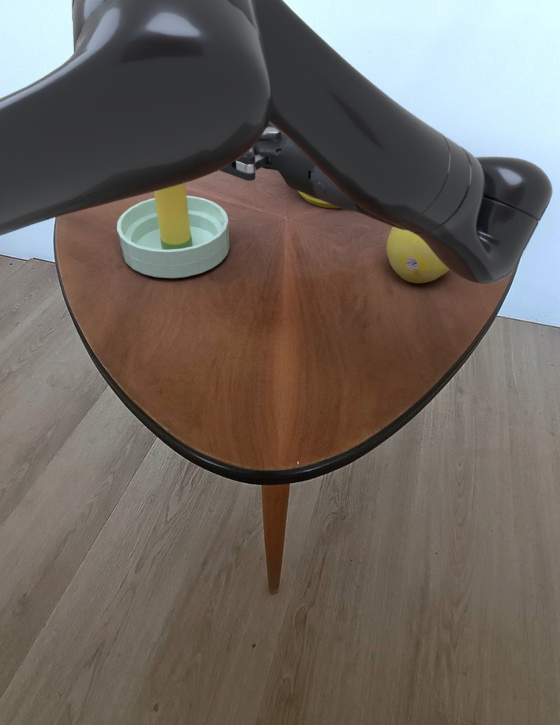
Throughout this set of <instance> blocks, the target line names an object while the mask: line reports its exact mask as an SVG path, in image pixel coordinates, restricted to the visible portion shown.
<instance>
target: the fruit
mask: <svg viewBox="0 0 560 725" xmlns="http://www.w3.org/2000/svg"><path fill="white" fill-rule="evenodd" d="M386 255H387V258H388V261H389V264H390V266H391V269H393V271H394V272H395V273H396V274H397V275H398V276H399V277H400V278H401V279H402V280H404V281H407V282H409V283H412V284H425V283H430V282H432V281H435V280H437V279H439V278H441V277H442V276H444V275H445V274H446V273H448V272H450V271H451V270H450V269H449V268H448V267H447V266H445V265H444V264H443V263H442V262H441V261H440V260H439V258H438V257H437V256H436V255H435V254H434V253H433V251H432V250H431V249H430V248H429V246H428V245H427V244H426V243H425V242H424V241H423V240H422V239H421V238H420V237H419V236H418V235H416V234H414V233H412V232H410V231H408V230H402V229H398V228H396V227H393V226H391V229H390V231H389V234H388V237H387V241H386Z"/></svg>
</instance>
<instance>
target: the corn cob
mask: <svg viewBox="0 0 560 725" xmlns="http://www.w3.org/2000/svg"><path fill="white" fill-rule="evenodd" d="M187 196H188V195H187V186H186V183H183V184H180V185H177V186H173V187H170V188H166V189H162V190H158V191H155V192H153V198H155V204H156V210H157V216H158V223H159V229H160V236H161V237H160V240H161V246H162V249H163V250H171V249H183V248H187V247H191V246H193V243H192V235H191V231H190V222H189V213H188V204H187Z"/></svg>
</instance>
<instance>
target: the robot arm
mask: <svg viewBox="0 0 560 725" xmlns="http://www.w3.org/2000/svg"><path fill="white" fill-rule="evenodd" d="M71 20H72V39H73V41H72V42H73V43H72V44H73V53H72V55H71V56H70V57H69V58H68V59H67V60H66V61H65V62H63V63H62V64H61V65H60V66H58V67H56V68H55V69H54V70H52V71H50V72H49V73H47V74H46V75H44V76H43V77H41V78H39V79H37V80H36V81H33V82H32V83H30V84H28V85H27V86H24V87H23V88H20V89H18V90H15V91H14V92H11V93H9V94H7V95H5V96H3V97H0V237H1V236H4V235H7V234H9V233H12V232H17V231H18V230H21V229H25V228H27V227H30V226H32V225H33V226H34V225H35V224H39V223H42V222H44V221H45V222H46V221H49V220H51V219H55V218H59V217H62V216H66V215H69V214H73V213H77V212H80V211H84V210H88V209H92V208H96V207H99V206H103V205H107V204H112V203H117V202H119V201H123V200H128V199H131V198H135V197H139V196H142V195H143V196H144V195H146V194H151V193H154V192H155V191H158V190H162V189H166V188H170V187H173V186H177V185H180V184H183V183H185V184H186V183H189V182H193V181H195V180H199V179H201V178H204V177H206V176H209V175H211V174H214V173H216V172H218V171H220V172H222V173H225V174H227V175H231V176H233V177H236V178H238V179H241V180H244V181H247V182H251V181H254V180H255V179H256V172H257V171H258V170H260V169H261V168H262V169H265V170H271V171H277V172H278V173H279V175H280V176H281V177H282V179H283V181H284V182H285V183H286V185H287V186H288V187H289V188H291V189H293V190H295V191H297V192H298V191H300V192H302V193H305V194H307V195H310V196H312V197H314V198H317V199H319V200H322V201H324V202H327V203H329V204H332V205H334V206H336V207H339V208H338V209H341V210H346V211H349V212H354V213H358V214H361V215H363V216H366V217H369V218H371V219H373V220H375V221H378V222H380V223H383V224H385V225H388V226H390V227H396V228H398V229H402V230H408V231H410V232H412V233H414V234H416V235H418V236H419V237H420V238H421V239H422V240H423V241H424V242H425V243H426V244H427V245H428V246H429V248H430V249H431V250H432V251H433V253H434V254H435V255H436V256H437V257H438V258H439V260H440V261H441V262H442V263H443V264H444V265H445V266H447V267H448V268H449V269H450V270H449V271H451V272H452V273H453V274H455V275H457V276H459V277H460V278H462V279H464V280H466V281H468V282H471V283H475V284H482V285H488V284H494V283H497V282H500V281H502V280H503V279H506V278H507V277H508V276H510V274H512V273H513V272H514V270H515V269H516V267H517V266H518V264H519V262H520V260H521V258H522V257H523V254H524V252H525V250H526V249H527V246H528V245H529V242H530V241H531V239H532V237H533V235H534V233H535V231H536V229H537V227H538V226H539V222H540V221H541V220H542V219H543V216H544V214H545V212H546V210H547V209H548V207H549V205H550V202H551V199H552V196H553V186H552V181H551V180H550V178H549V176H548V175H547V173H546V172H545V171H544V170H543V169H542V168H541V167H539V166H538V165H537V164H535V163H533V162H531V161H528V160H526V159H523V158H519V157H514V156H513V157H511V156H475V155H473V154H472V153H471V152H470V151H468V150H467V149H466V148H464V147H463V146H461V145H460V144H458V143H457V142H456V141H454V140H452V139H451V138H449V137H447V135H445V134H443V133H442V132H441V131H439V130H437V129H436V128H435V127H433V126H431V125H430V124H429V123H427V122H425V121H424V120H422V119H421V118H420V117H418V116H416V115H415V114H414V113H412V112H411V111H410V110H408V109H407V108H405V107H404V106H402V105H401V104H400V103H398V101H396V100H395V99H393V98H392V97H390V95H388V94H387V93H385V91H383V90H382V89H380V88H379V87H378V86H377V85H376V84H375V83H373V82H372V81H371V80H370V79H368V78H367V77H366V76H365V75H364V74H362V73H361V72H360V71H359V70H358V69H357V68H355V67H354V66H353V65H352V64H351V63H349V61H347V60H346V59H345V58H344V57H343V56H342V55H341V54H339V52H337V51H336V50H335V48H334V47H332V46H331V45H330V44H329V43H328V42H327V41H325V39H324V38H322V37H321V36H320V35H319V34H318V33H317V32H316V31H315V30H314V29H312V27H311V26H309V25H308V24H307V23H306V21H304V19H302V18H301V17H300V16H299V15H298V14H297V13H296V12H295V11H294V10H293V9H292V8H291V7H290V6H289V5H288V4H287V3H286V2H285V1H284V0H71ZM250 150H251V151H250Z"/></svg>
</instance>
